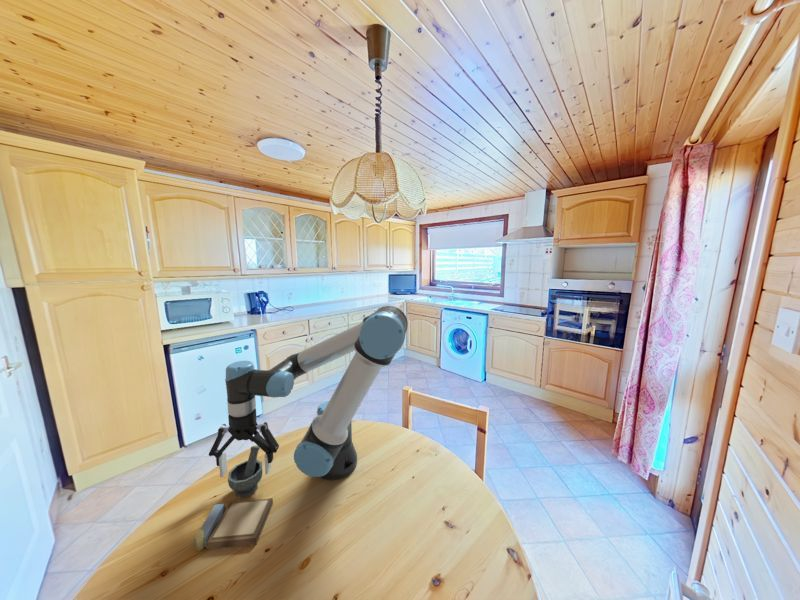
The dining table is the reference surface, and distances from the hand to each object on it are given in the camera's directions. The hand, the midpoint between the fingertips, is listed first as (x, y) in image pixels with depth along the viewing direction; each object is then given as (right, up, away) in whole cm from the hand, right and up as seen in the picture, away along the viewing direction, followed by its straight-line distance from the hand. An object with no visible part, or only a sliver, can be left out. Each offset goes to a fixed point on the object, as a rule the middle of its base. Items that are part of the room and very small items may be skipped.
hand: (246, 472), depth 87 cm
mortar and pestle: (0, -6, +1) cm, 6 cm away
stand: (+6, -7, -12) cm, 15 cm away
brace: (-2, -7, -13) cm, 15 cm away
